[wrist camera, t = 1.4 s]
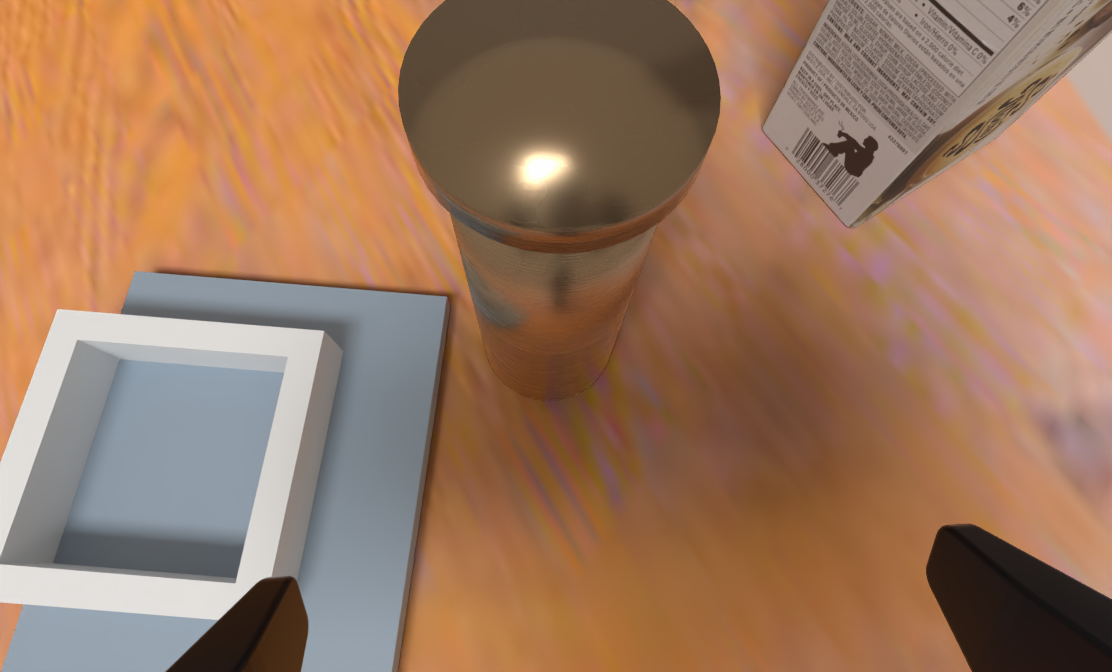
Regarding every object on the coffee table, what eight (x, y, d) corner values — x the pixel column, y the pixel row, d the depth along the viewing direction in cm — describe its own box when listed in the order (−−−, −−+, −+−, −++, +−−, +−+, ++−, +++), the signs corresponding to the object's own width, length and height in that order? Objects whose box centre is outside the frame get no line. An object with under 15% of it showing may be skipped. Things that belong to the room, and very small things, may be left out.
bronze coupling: (618, 416, 23) (722, 239, 10) (465, 404, 23) (372, 211, 10) (624, 277, 25) (718, -24, 12) (483, 265, 25) (423, -48, 12)
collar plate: (382, 779, 19) (353, 820, 16) (-17, 746, 19) (-119, 782, 16) (450, 306, 25) (438, 271, 22) (138, 281, 25) (82, 243, 22)
